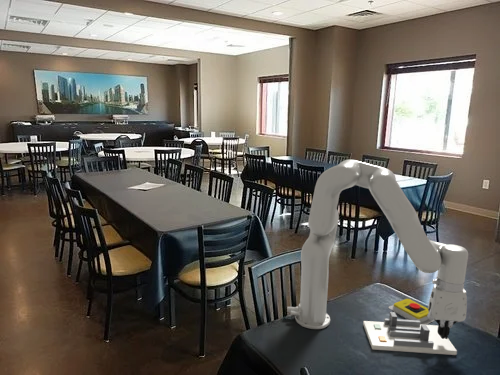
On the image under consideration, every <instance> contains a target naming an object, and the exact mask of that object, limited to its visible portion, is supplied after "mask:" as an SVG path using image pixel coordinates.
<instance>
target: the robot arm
mask: <svg viewBox="0 0 500 375" xmlns="http://www.w3.org/2000/svg"><path fill="white" fill-rule="evenodd" d="M355 186H358V187H360V188H364V189H368V190H369V192H370V194H371V196H372V197H373V199H374V201H375V202H376V203H377V205H378V206H379V208H380V209H381V211H382V213H383V214H384V216H385V217H386V219H387V220H388V223H389V224H390V226H391V228H392V230H393V231H394V233H395V235H396V237H397V238H398V239H399V242H400V244H401V245H402V248H403V249H404V251H405V253H406V254H407V255H408V257H409V258H410V260H411V261H412V263H413V264H414V266H415V267H416V268H417V269H418V270H419V271H420V272H422V273H425V274H434V273H436V272H437V274H436V278H435V279H432V280H431V283H432V285H433V288H432V290H431V292H430V296H429V300H428V306H427V308H428V311H429V313H428V315H427V317H428V318H429V319H430V320H433V322H436V323H437V324H438V334H439V335H440V337H441V338H442V339H444V338H445V339H449V335H450V332H451V328H452V327H453V325H455V324H456V323H462V322H463V321H465V320H466V318H467V310H468V309H467V308H468V307H467V306H468V305H467V304H468V298H467V291H466V290H465V288H464V287H465V280H466V274H467V265H468V259H469V252H468V250H467V249H466V248H465V247H463V246H461V245H457V244H453V243H452V244H449V243H448V244H446V243H443V242H442V243H441V242H437V241H434V240H431V239H430V238H428V236H427V234H426V232H425V230H424V228H423V226H422V224H421V222H420V219H419V215H418V214H417V211H416V209H415V208H414V206H413V204H412V203H411V201H410V200H409V199H408V197H407V195H406V193H405V192H404V191H403V189H402V188H401V186H400V184H399V182H397V179H396V175H395V174H394V172H393V171H392V170H390V169H389V168H385V167H383V166H378V165H374V164H370V163H367V162H364V161H363V162H362V161H359V160H356V159H344V160H342V161H341V162H339V164H337V165H333V166H332V167H329V168H328V169H326V170H325V171H323V172H322V173H321V174H320V175H319V177H318V178H317V180H316V183H315V186H314V192H313V196H312V201H311V205H310V211H309V215H308V221H307V222H308V228H309V230H310V231H309V234H308V235H309V236H308V238H307V239H306V240H305V242H304V243H303V245H302V248H301V251H300V264H301V267H300V268H301V272H300V273H301V277H300V295H299V296H300V300H299V303H298V306H286V307H287V308H286V309H287V310H286V312H287V313H290V315H291V316H294V318H295V322H296V323H297V324H299V326H301V327H304V328H306V329H311V330H321V329H322V330H323V329H325V328H326V327H328V326H330V323H331V317H330V315H329V314H328V313H327V306H328V304H327V302H328V290H329V268H330V267H329V262H330V256H331V254H332V250H333V248H334V244H335V240H336V235H337V230H338V224H339V219H340V216H339V215H340V214H339V210H338V204H339V200H340V199H339V198H340V194H341V193H342V191H344V190H346V189H349V188H352V187H355Z"/></svg>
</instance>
